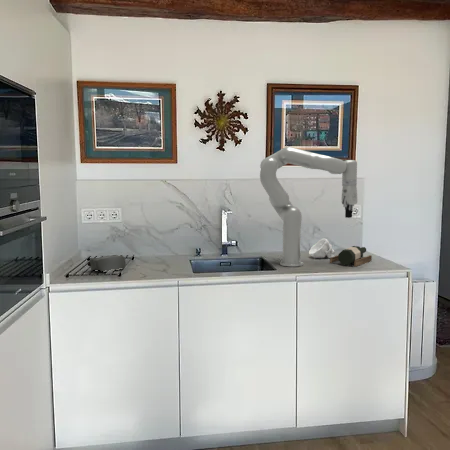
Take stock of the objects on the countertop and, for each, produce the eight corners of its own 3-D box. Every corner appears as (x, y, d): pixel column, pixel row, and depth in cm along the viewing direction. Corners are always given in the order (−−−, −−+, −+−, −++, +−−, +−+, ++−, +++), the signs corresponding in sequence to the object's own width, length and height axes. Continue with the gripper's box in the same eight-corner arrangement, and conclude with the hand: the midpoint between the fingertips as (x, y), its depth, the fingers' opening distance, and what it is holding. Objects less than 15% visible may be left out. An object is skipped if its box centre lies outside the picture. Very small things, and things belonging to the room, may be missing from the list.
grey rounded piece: (118, 266, 242) (118, 252, 241) (129, 269, 234) (129, 254, 233) (87, 271, 230) (86, 256, 229) (97, 275, 221) (97, 259, 221)
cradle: (329, 263, 243) (330, 257, 242) (346, 257, 258) (346, 252, 257) (355, 266, 233) (355, 261, 233) (371, 260, 248) (371, 255, 247)
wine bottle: (355, 263, 231) (373, 254, 256) (349, 248, 232) (368, 240, 257) (341, 267, 236) (360, 258, 260) (335, 252, 237) (355, 244, 261)
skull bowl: (341, 255, 256) (331, 238, 253) (321, 269, 255) (311, 252, 252) (333, 252, 266) (323, 236, 264) (314, 265, 265) (304, 249, 262)
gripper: (349, 183, 229) (348, 219, 231) (362, 183, 240) (361, 216, 242) (336, 183, 234) (335, 218, 236) (349, 183, 245) (348, 216, 247)
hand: (348, 217), depth 239 cm, fingers closed
